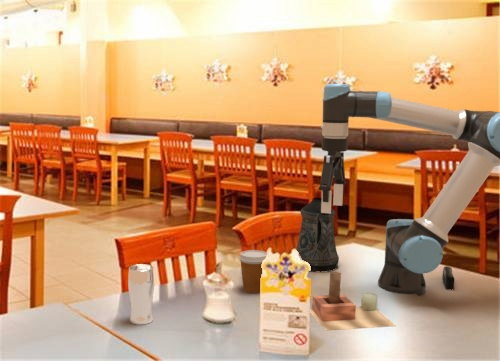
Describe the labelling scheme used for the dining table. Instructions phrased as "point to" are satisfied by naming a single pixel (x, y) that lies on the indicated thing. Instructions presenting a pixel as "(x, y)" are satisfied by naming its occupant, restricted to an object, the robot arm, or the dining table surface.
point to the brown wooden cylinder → (334, 287)
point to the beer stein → (317, 237)
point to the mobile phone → (448, 278)
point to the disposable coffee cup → (251, 269)
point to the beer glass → (141, 293)
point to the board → (359, 322)
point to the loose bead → (369, 301)
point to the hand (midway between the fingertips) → (332, 209)
